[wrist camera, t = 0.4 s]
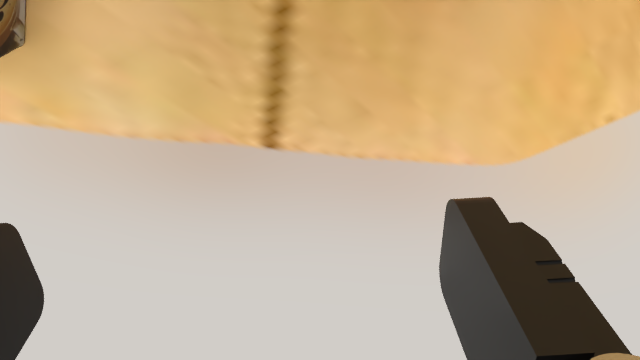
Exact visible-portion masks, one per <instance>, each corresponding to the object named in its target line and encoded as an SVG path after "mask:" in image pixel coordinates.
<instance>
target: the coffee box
mask: <svg viewBox="0 0 640 360" xmlns="http://www.w3.org/2000/svg"><path fill="white" fill-rule="evenodd" d="M25 2H26V0H0V57H2V56H3V55H5V54H7V53H9V52H11V51H12V50H14V49H16V48H18V47H20V46H22V45H23V44H24V32H25Z"/></svg>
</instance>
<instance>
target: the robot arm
mask: <svg viewBox="0 0 640 360" xmlns="http://www.w3.org/2000/svg"><path fill="white" fill-rule="evenodd" d="M439 268H440V269H439V270H440V282H441V288H442V293H443V296H444V299H445V302H446V304H447V307H448V310H449V312H450V315H451V318H452V320H453V323H454V326H455V328H456V331H457V334H458V336H459V339H460V342H461V344H462V347H463V350H464V352H465V355H466V358H467V360H640V357H639V356H634V355H632V354H631V353H630V351H629V350H628V349H627V348H626V346H625V345H624V343H623V342H622V341H621V339H620V338H619V337H618V335H617V334H616V333H615V331H614V330H613V328H612V327H611V326H610V324H609V323H608V322H607V320H606V319H605V318H604V316H603V315H602V314H601V312H600V311H599V309H598V308H597V307H596V305H595V304H594V303H593V301H592V300H591V299H590V297H589V296H588V295H587V293H586V292H585V290H584V289H583V288H582V286H581V285H580V284H579V282H575V277H574V276H573V274H572V273H571V272H570V270H569V269H568V267H567V266H566V265H565V264H562V259H561V258H560V257H559V256H558V254H557V253H556V251H555V250H554V248H553V247H552V246H551V244H550V243H549V242H548V240H547V239H546V238H544V237H543V236H541V235H540V234H539V233H537V232H536V231H534V230H533V229H531V228H530V227H528V226H527V225H525V224H524V223H522V222H518V223H509V222H508V220H507V218H506V217H505V215H504V214H503V212H502V211H501V209H500V208H499V206H498V205H497V203H496V202H495V201H494V199H493V198H491V197H482V198H464V199H451V200H449V201H448V203H447V206H446V212H445V221H444V230H443V238H442V247H441V255H440V265H439ZM43 304H44V294H43V288H42V285H41V282H40V280H39V278H38V275H37V273H36V271H35V269H34V266H33V264H32V262H31V259H30V257H29V255H28V253H27V250H26V248H25V246H24V244H23V241H22V239H21V236H20V234H19V232H18V231H17V229H16V228H15V227H14V226H13V225H11V224H8V223H0V360H15V359H16V357H17V355H18V354H19V352H20V350H21V349H22V347H23V345H24V344H25V342H26V340H27V339H28V337H29V336H30V334H31V332H32V331H33V329H34V327H35V325H36V324H37V322H38V320H39V318H40V316H41V314H42V310H43Z"/></svg>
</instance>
